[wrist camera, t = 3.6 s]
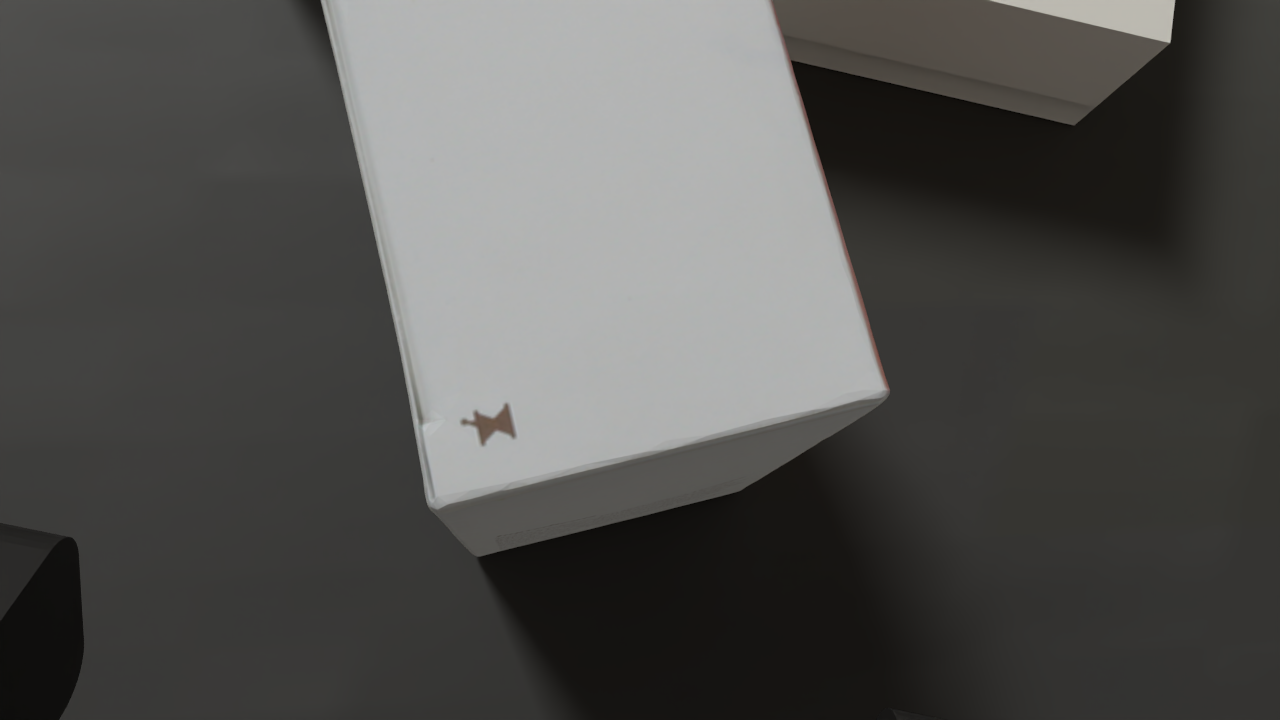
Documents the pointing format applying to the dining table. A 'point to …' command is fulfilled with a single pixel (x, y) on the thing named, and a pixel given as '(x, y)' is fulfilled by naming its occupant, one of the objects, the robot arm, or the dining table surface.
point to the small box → (600, 253)
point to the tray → (985, 47)
